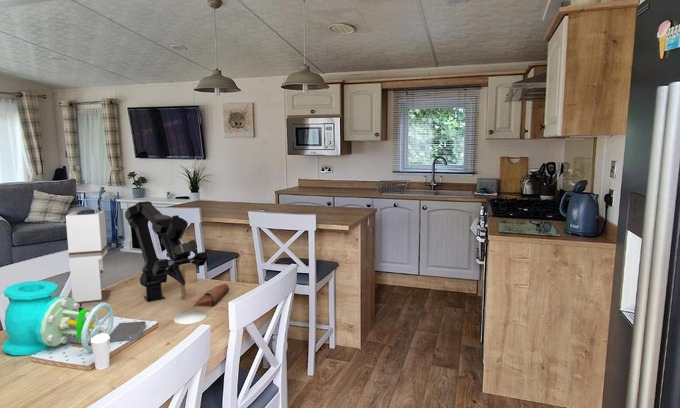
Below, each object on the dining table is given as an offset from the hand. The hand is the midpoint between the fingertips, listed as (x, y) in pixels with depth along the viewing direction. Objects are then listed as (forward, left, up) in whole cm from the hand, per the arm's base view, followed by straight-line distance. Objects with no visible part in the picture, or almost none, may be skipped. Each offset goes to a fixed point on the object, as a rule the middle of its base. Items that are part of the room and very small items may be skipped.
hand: (190, 283), depth 143 cm
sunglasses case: (-16, +13, -14) cm, 25 cm away
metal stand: (0, -20, -13) cm, 24 cm away
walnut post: (-1, 0, -6) cm, 6 cm away
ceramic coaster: (-1, 0, -13) cm, 13 cm away
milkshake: (+18, -30, -13) cm, 37 cm away
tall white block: (-42, -25, -13) cm, 51 cm away
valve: (-3, -38, -13) cm, 41 cm away
